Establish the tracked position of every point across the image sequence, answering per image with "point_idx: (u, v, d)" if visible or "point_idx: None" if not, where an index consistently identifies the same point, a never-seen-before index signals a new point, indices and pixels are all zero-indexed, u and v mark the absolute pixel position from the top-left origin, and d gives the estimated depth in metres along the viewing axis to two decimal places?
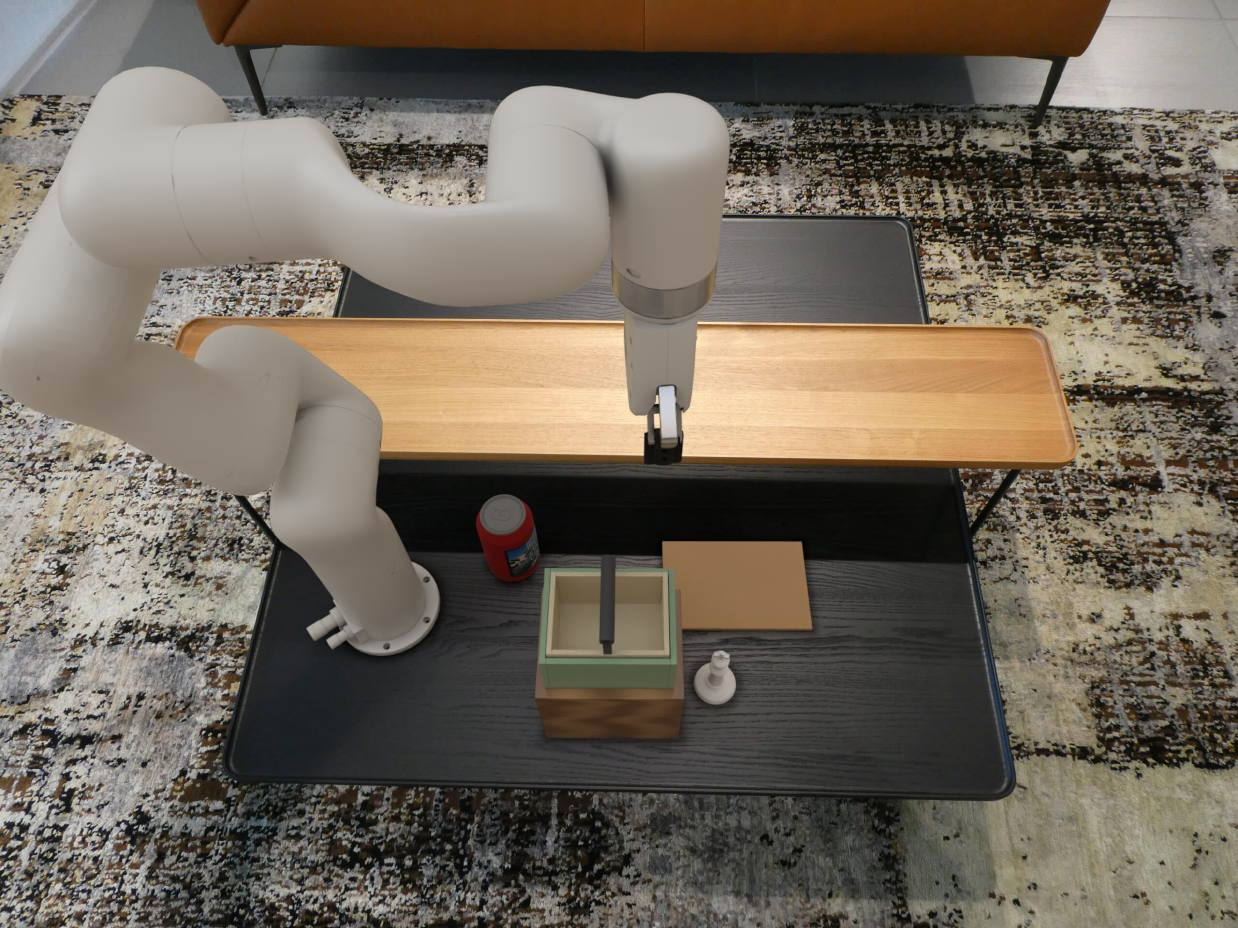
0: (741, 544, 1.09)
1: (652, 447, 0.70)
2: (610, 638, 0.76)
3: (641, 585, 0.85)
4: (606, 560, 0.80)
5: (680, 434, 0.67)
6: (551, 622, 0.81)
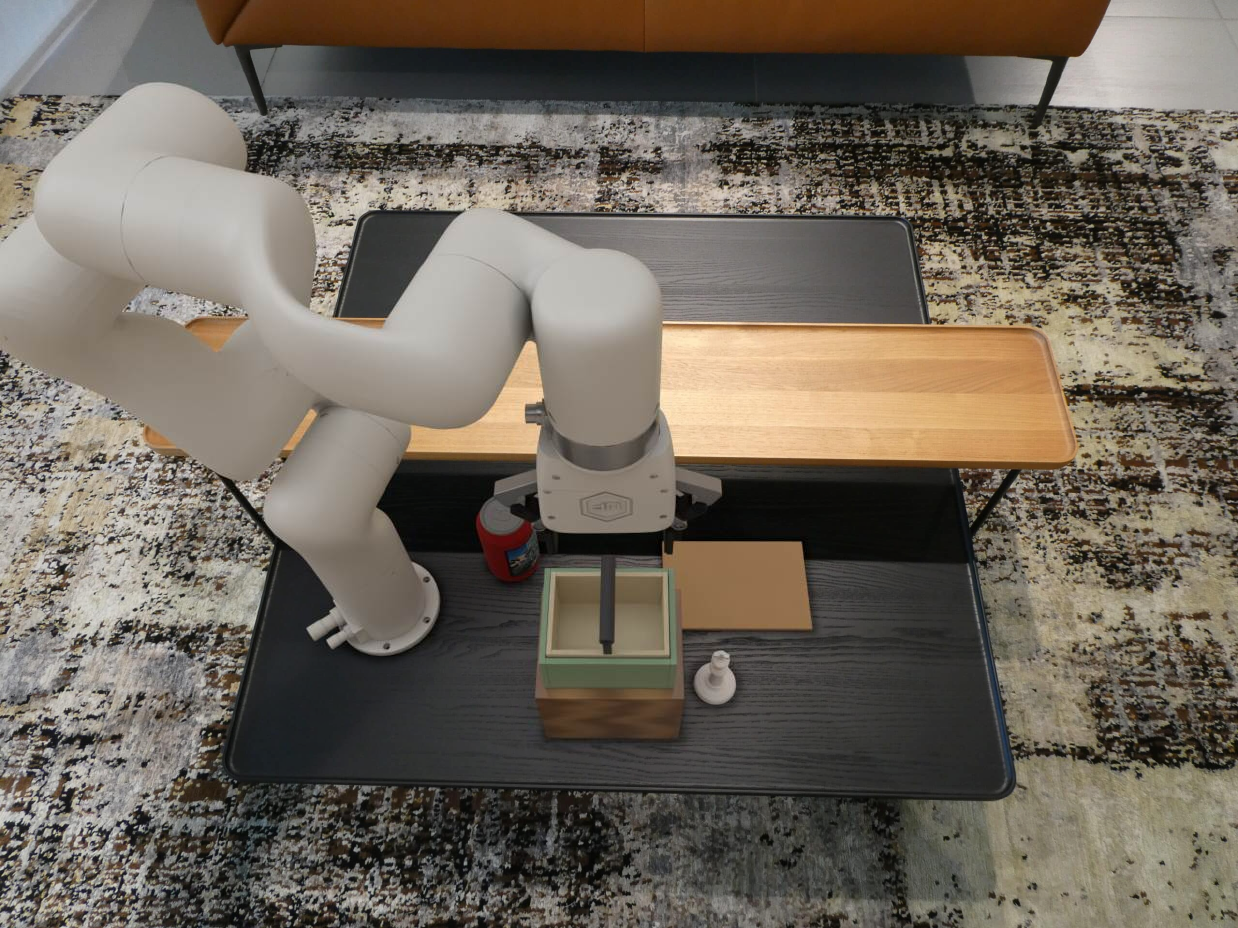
0: (741, 544, 1.09)
1: None
2: (610, 638, 0.76)
3: (641, 585, 0.85)
4: (606, 560, 0.80)
5: (682, 494, 0.67)
6: (551, 622, 0.81)
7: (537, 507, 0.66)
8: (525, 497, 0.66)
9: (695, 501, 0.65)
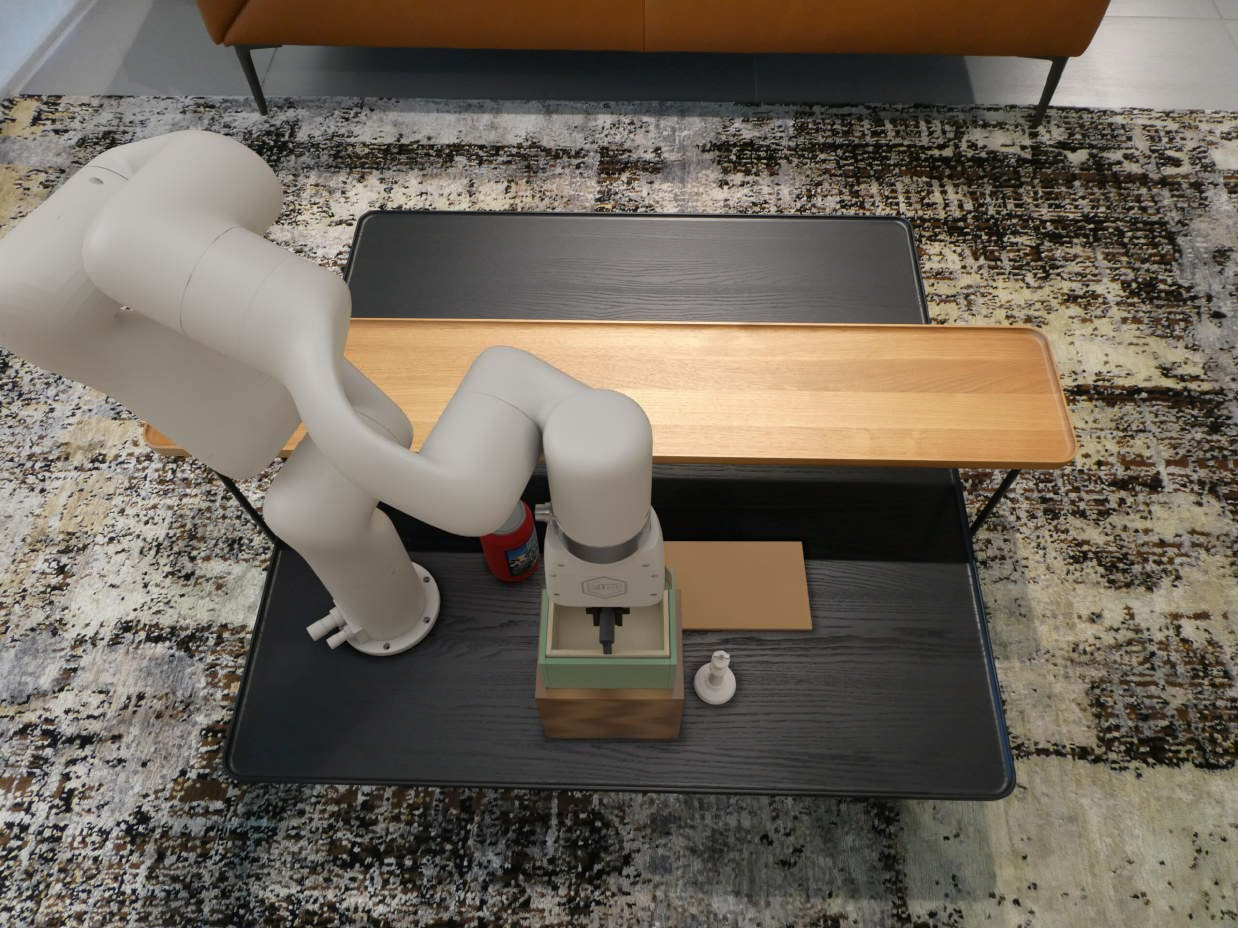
0: (741, 544, 1.09)
1: (622, 610, 0.78)
2: (610, 638, 0.76)
3: None
4: None
5: None
6: (551, 622, 0.81)
7: None
8: None
9: None
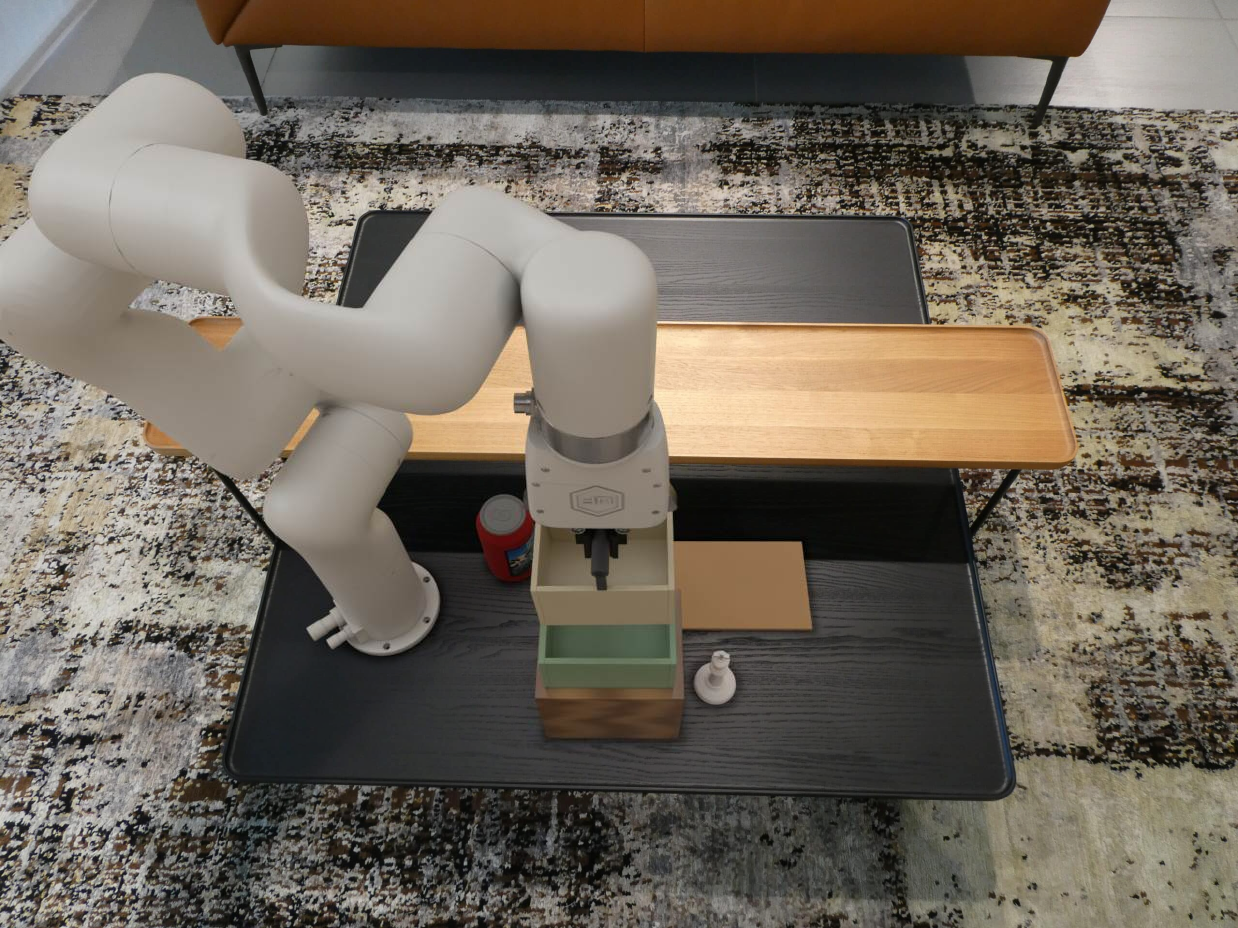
0: (741, 544, 1.09)
1: (618, 538, 0.67)
2: (603, 568, 0.65)
3: None
4: None
5: None
6: (537, 555, 0.69)
7: None
8: None
9: None
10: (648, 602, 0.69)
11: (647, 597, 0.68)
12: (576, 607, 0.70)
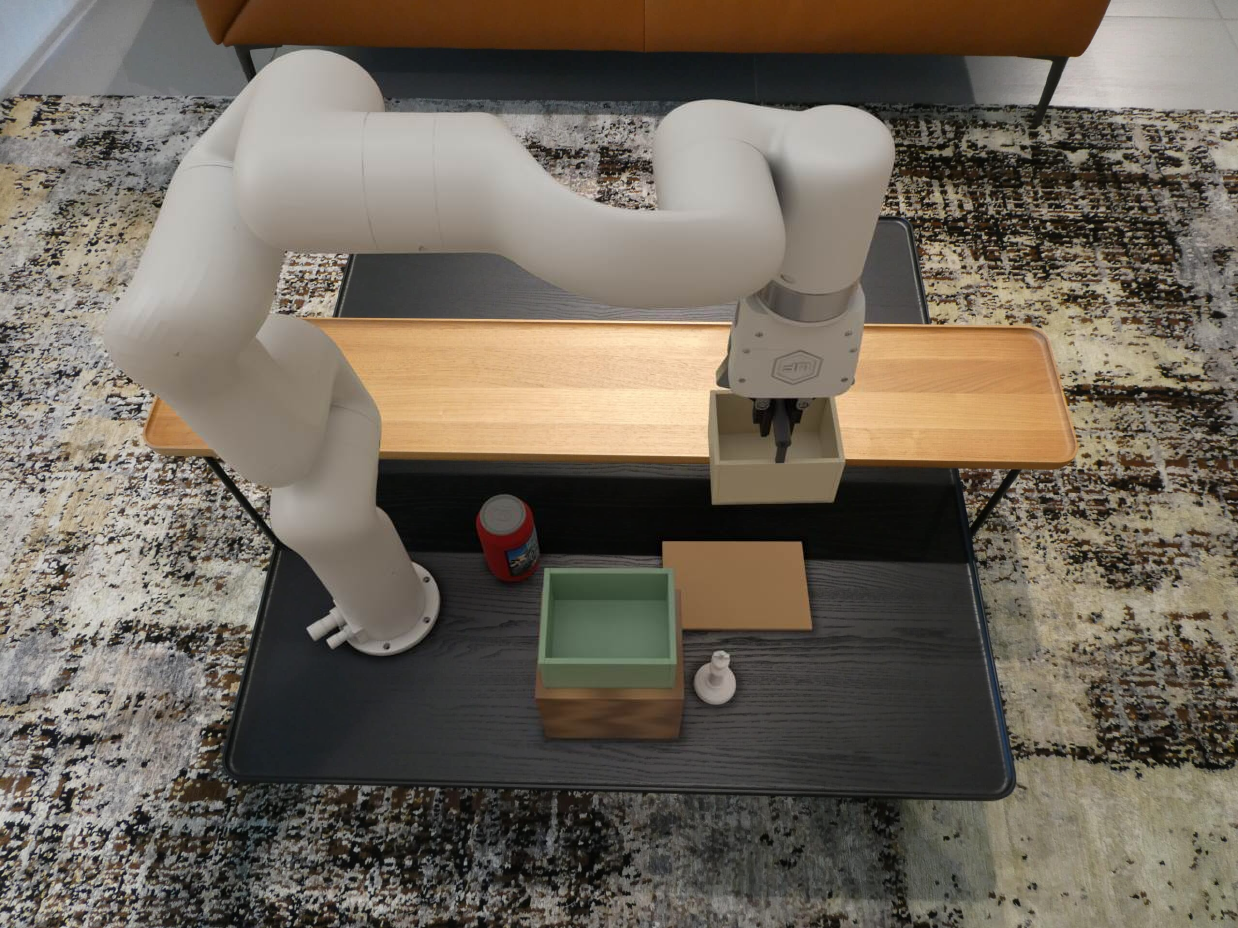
0: (741, 544, 1.09)
1: None
2: (788, 438, 0.72)
3: None
4: None
5: None
6: (716, 436, 0.77)
7: None
8: None
9: None
10: (817, 476, 0.77)
11: (818, 471, 0.76)
12: (750, 483, 0.78)
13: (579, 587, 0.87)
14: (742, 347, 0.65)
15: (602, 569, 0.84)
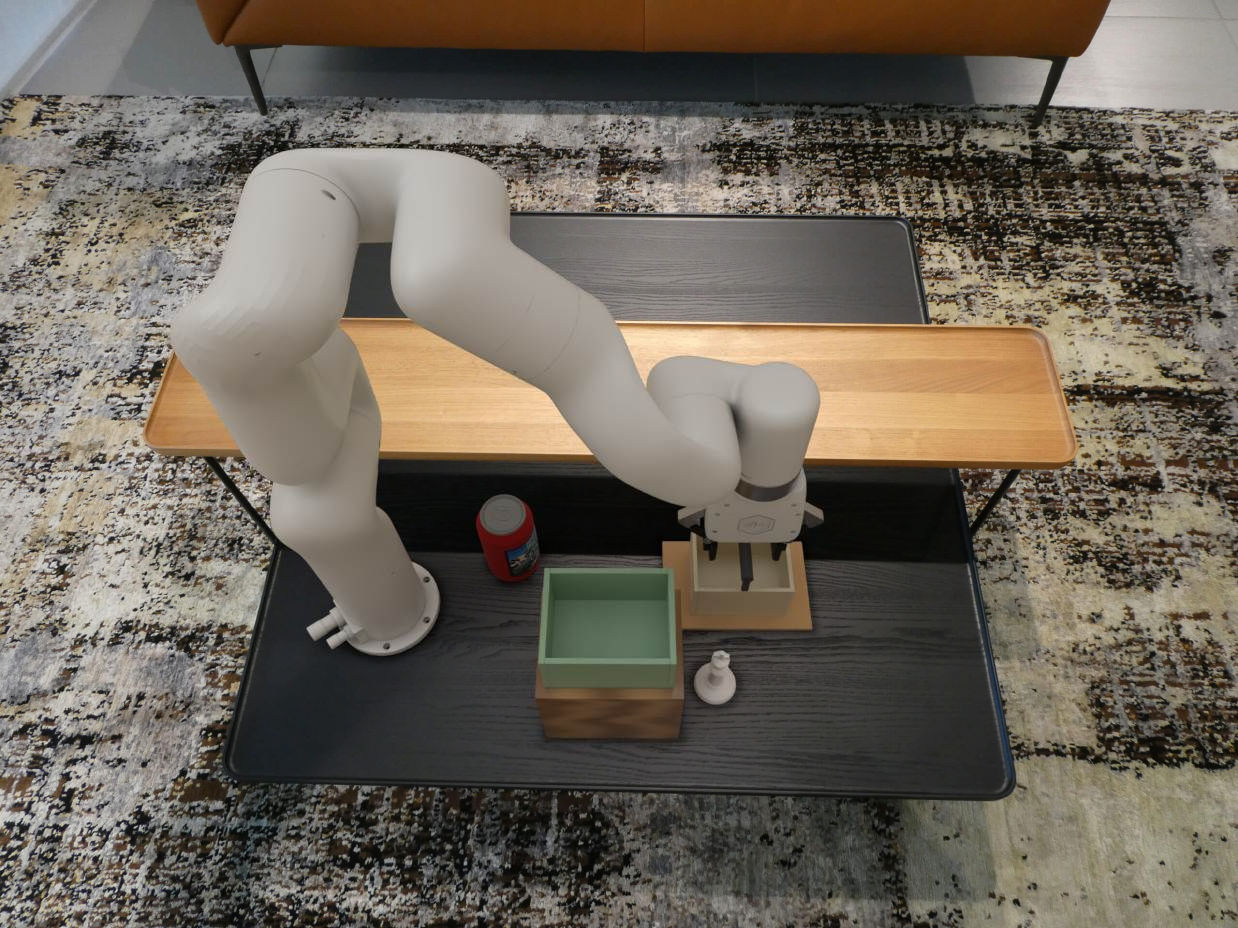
0: None
1: None
2: (751, 576, 0.94)
3: None
4: None
5: None
6: (696, 566, 0.99)
7: None
8: (700, 519, 0.93)
9: (802, 523, 0.92)
10: (773, 599, 0.99)
11: (774, 596, 0.98)
12: (721, 602, 1.00)
13: (579, 587, 0.87)
14: (714, 511, 0.86)
15: (602, 569, 0.84)
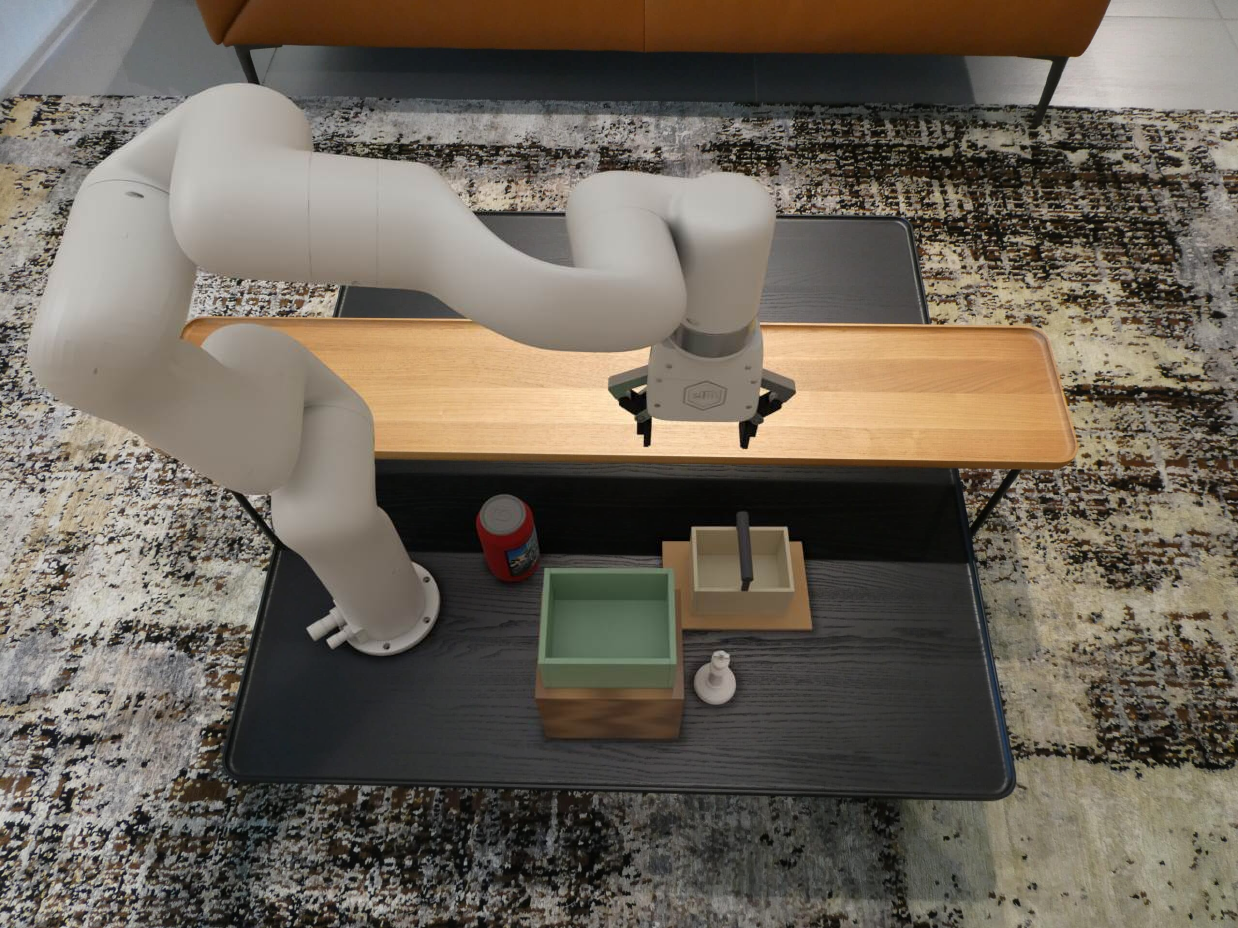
0: None
1: None
2: (751, 576, 0.94)
3: (764, 538, 1.03)
4: (741, 515, 0.99)
5: (759, 396, 0.81)
6: (696, 566, 0.99)
7: (640, 402, 0.80)
8: (631, 392, 0.79)
9: (772, 399, 0.78)
10: (773, 599, 0.99)
11: (774, 596, 0.98)
12: (721, 602, 1.00)
13: (579, 587, 0.87)
14: (655, 376, 0.73)
15: (602, 569, 0.84)
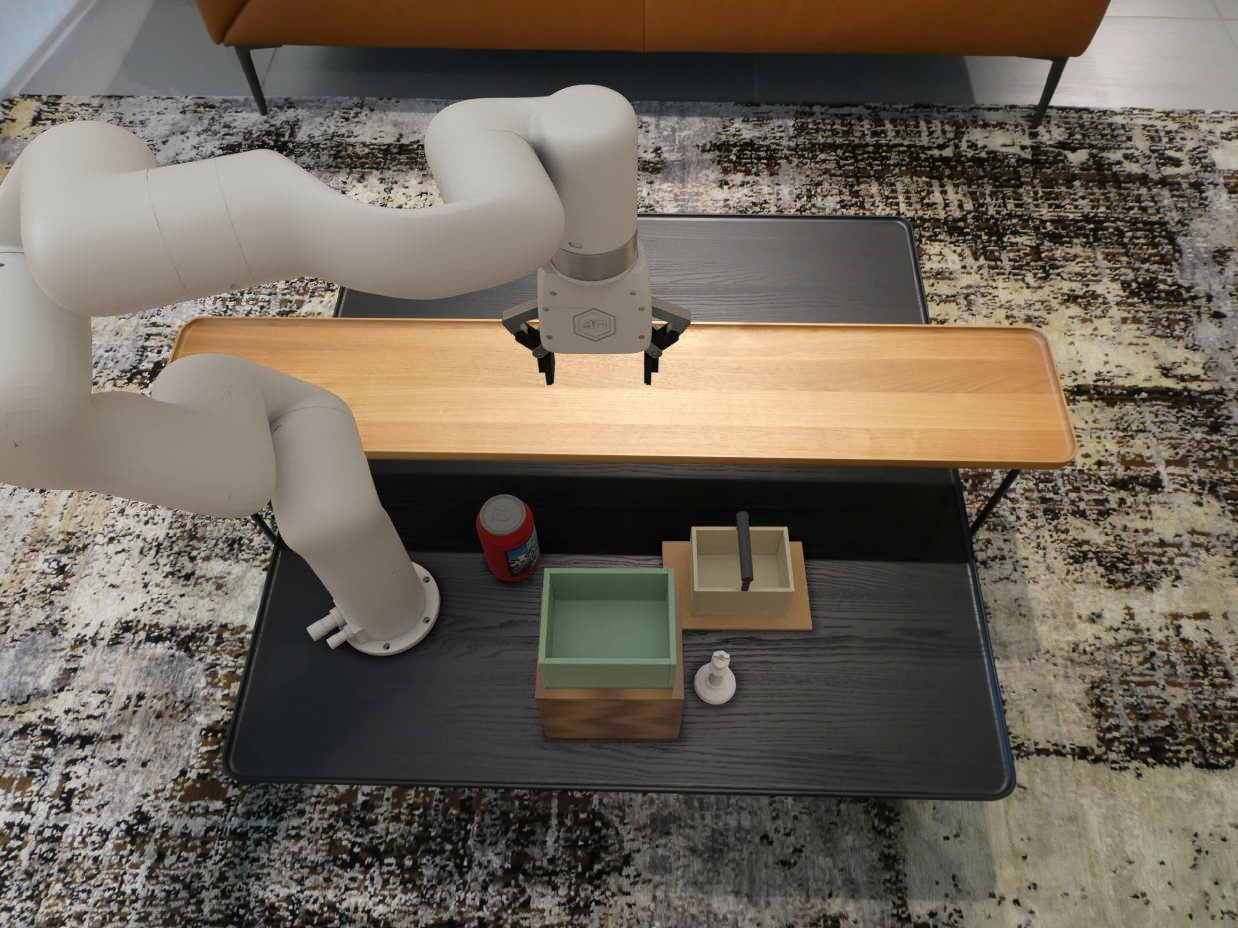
0: None
1: None
2: (751, 576, 0.94)
3: (764, 538, 1.03)
4: (741, 515, 0.99)
5: (659, 329, 0.80)
6: (696, 566, 0.99)
7: (537, 337, 0.79)
8: (527, 327, 0.79)
9: (669, 330, 0.78)
10: (773, 599, 0.99)
11: (774, 596, 0.98)
12: (721, 602, 1.00)
13: (579, 587, 0.87)
14: (542, 305, 0.72)
15: (602, 569, 0.84)
